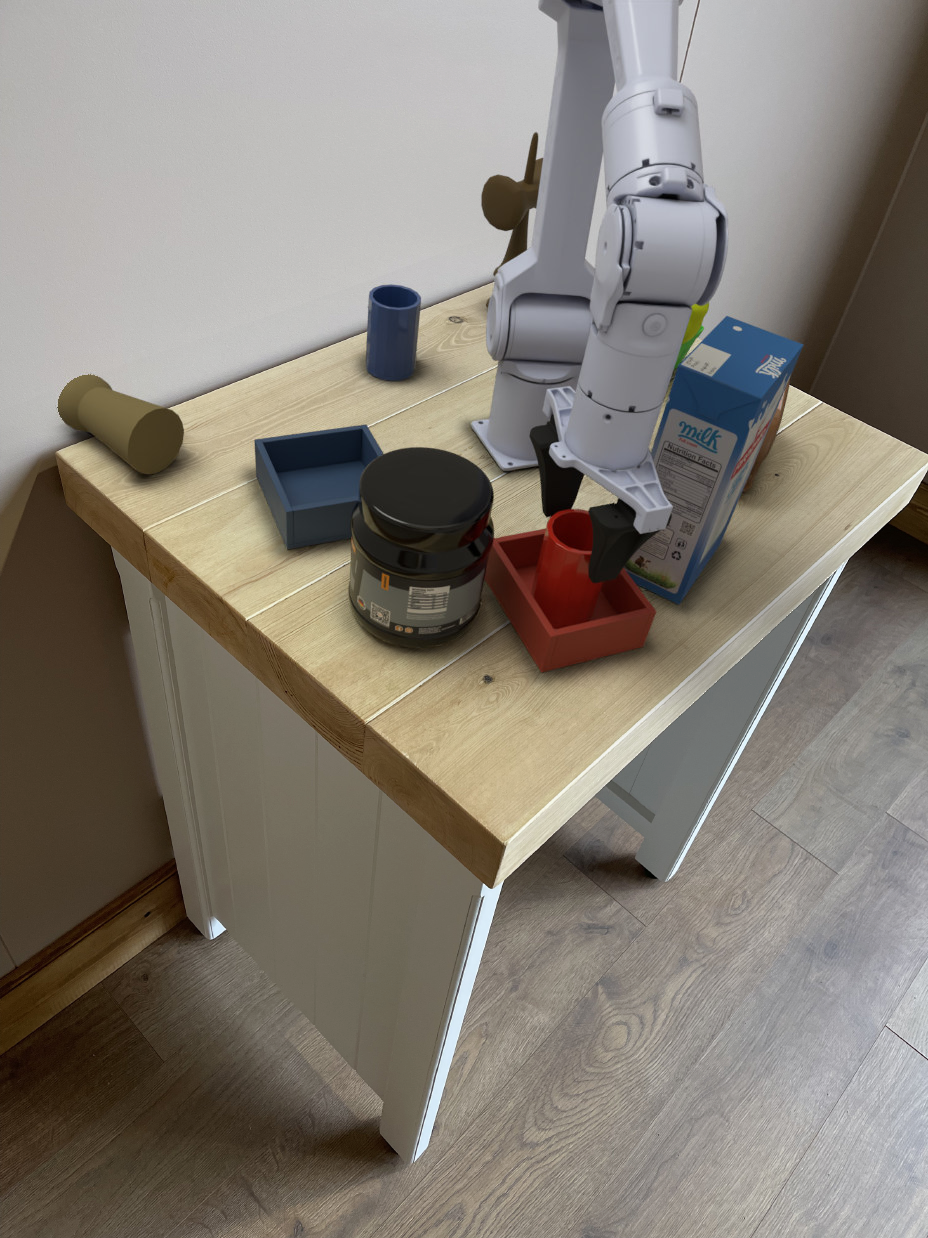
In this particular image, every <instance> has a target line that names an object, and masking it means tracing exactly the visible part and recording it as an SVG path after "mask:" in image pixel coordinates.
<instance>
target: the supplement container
mask: <svg viewBox="0 0 928 1238" xmlns="http://www.w3.org/2000/svg"><path fill="white" fill-rule="evenodd" d="M494 500H495V492H494V487H493V484H492V482H491V480H490V478H489V477H488V476H487V474H486V473H485V471H483V470H482V469H481V468H480V467H479V466H478V465H476V464H475V462H473V461H471V460H470V459H467V458H466V457H464V456H462V455H459V454H458V453H454V452H452V451H449V450H446V449H440V448H436V447H424V446H413V447H411V446H410V447H404V448H398V449H394V450H391V451H388V452H385V453H383V455H381V456H379V457H377V458H376V459H374V460H373V461H372V462H370V463H369V464H368V465H367V466H366V468H365V469H364V471H363V472H362V474H361V477H360V481H359V497H358V501H357V503H356V504H355V506H354V508H353V511H352V514H351V519H350V531H351V538H350V560H349V563H350V564H349V565H350V566H349V581H348V586H347V597H348V604H349V607H350V610H351V611H352V614H353V617H354V618H355V619H356V621H357V622H358V623H359V625H360V626H362V627H363V628H364V630H366V631H367V632H368V633H370V634H371V635H373V636H374V637H376V638H377V639H379V640H381V641H384V642H386V643H389V644H392V645H394V646H399V647H403V648H412V649H425V648H428V649H429V648H434V647H439V646H443V645H445V644H448V643H450V642H453V641H455V640H456V639H458V638H460V637H461V636H463V635H464V634H465V633H466V632H467V631H468V630H470V628H471V627H472V626H473V625H474V623H475V622H476V620H477V618H478V616H479V614H480V610H481V606H482V595H483V589H484V584H485V574H486V568H487V563H488V557H489V552H490V550H491V548H492V544H493V540H494V538H495V525H494V521H493V518H492V511H493V506H494Z"/></svg>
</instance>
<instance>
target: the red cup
mask: <svg viewBox="0 0 928 1238" xmlns="http://www.w3.org/2000/svg"><path fill="white" fill-rule="evenodd" d="M545 528H546V531H545V535H544V539H543V543H542V548H541V552H540V556H539V560H538V565H537V569H536V573H535V577H534V582H533V586H532V590H531V595H532V596H533V598H534V599H535V601H536V602H537V604H538V605H539V607H540V608H541V610H542V612H543V613H544V615H545V616H546V618H547V619H548V621H549V622H550V624H551V625H552V627H553V628H557V629H560V628H564V627H568V626H572V625H577V624H581V623H585V622H589V621H590V619H591V618H592V615H593V612H594V609H595V605H596V602H597V599H598V596H599V593H600V589H601V586H602V583H603V582H599V583H592V581H591V580H590V578H589V574H588V568H589V562H590V557H591V552H592V546H593V529H592V522H591V519H590V515H589V510H585V509H583V508H582V509H581V508H572V509H567V510H563V511H559V512H557V513H556V514H554V515H553V516H551V517H549V519H548V521H547V524H546V527H545Z"/></svg>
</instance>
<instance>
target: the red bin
mask: <svg viewBox="0 0 928 1238" xmlns="http://www.w3.org/2000/svg"><path fill="white" fill-rule="evenodd" d="M545 531H546V527H545V528H540V529H535V530H530V531H526V532H524V531H523V532H520V533H514V534H510V535H504V536H499V537H494V540H493V544H492V548H491V550H490V552H489V557H488V563H487V568H486V574H485V579H484V582H485V583H486V584H487V586H488V588H489V589H490V591H491V593H492V594H493V596H494V598H495V599H496V601H497V603H498V604H499V605H500V608H501V609H502V610H503V612H504V614H505V615H506V617H507V619H508V621H509V622H510V624H511V625H512V627H513V629H514V631H515V632H516V633H517V635H518V637H519V638H520V640H521V642H522V643H523V645H524V647H525V649H526V650H527V652H528V653H529V655H530V657H531V658H532V660H533V662H534V663H535V665H536V666H537V668H538V669H539V671H540V673H544V672H549V671H552V670H557V669H561V668H565V667H569V666H572V665H577V664H580V663H581V664H582V663H584V662H589V661H593V660H597V659H600V658H604V657H608V656H613V655H616V654H620V653H625V652H629V651H632V650H636V649H640V648H643V647H644V646H645V644H646V641H647V638H648V636H649V633H650V630H651V627H652V626H653V622H654V620H655V617H656V615H657V610H656V608H655V607H654V606H653V604H652V603H651V601H649V599H648V598H647V597H646V595H645V594H644V593H643V591H642V590H641V589H640V586H639V585H637V584H635V582H634V581H633V580H632V578H631V577H630V576H629V574H628V573H627V572H626V570H625V569H624V568H623V569H622V570H621V572H620V573H619V575H618V576H617V577H616V579H613V580H608V581H603V583H602V586H601V589H600V593H599V596H598V599H597V602H596V605H595V609H594V612H593V615H592V618H591V619H590V621H589V622H585V623H581V624H577V625H572V626H568V627H564V628H560V629H557V628H553V627H552V625H551V624H550V622H549V621H548V619H547V618H546V616H545V615H544V613H543V612H542V610H541V608H540V607H539V605H538V604H537V602H536V601H535V599H534V598H533V596H532V595H531V590H532V586H533V582H534V577H535V573H536V569H537V565H538V560H539V556H540V552H541V548H542V543H543V539H544V535H545Z"/></svg>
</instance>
